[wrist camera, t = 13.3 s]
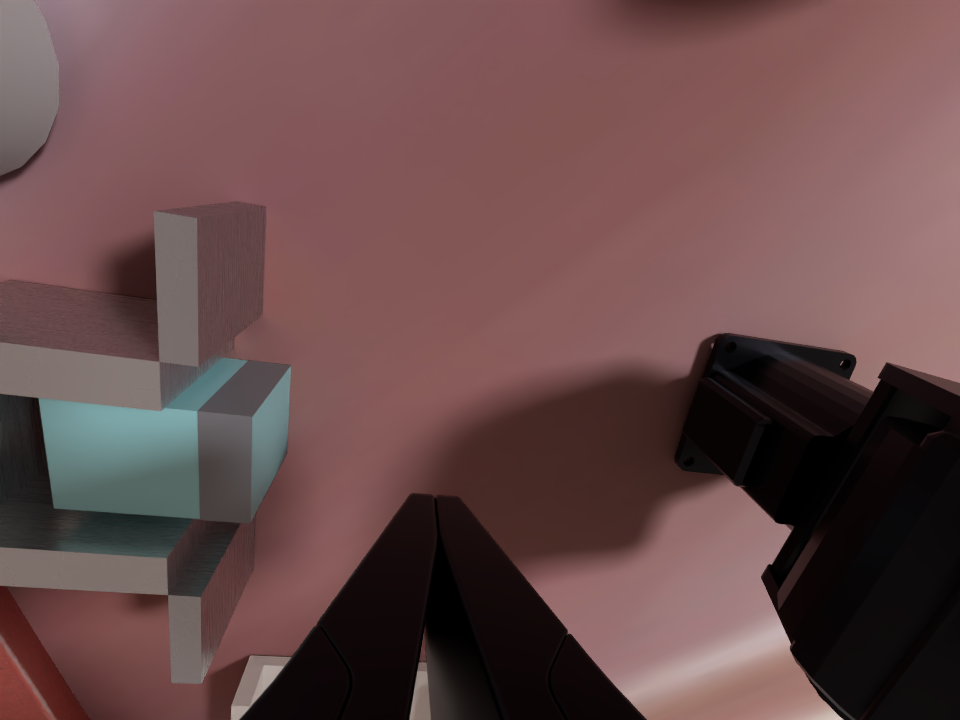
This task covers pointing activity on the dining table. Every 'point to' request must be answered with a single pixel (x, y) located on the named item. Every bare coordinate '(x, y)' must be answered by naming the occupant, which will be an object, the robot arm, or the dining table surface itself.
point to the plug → (174, 447)
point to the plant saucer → (29, 672)
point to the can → (25, 82)
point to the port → (132, 384)
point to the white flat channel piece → (268, 667)
